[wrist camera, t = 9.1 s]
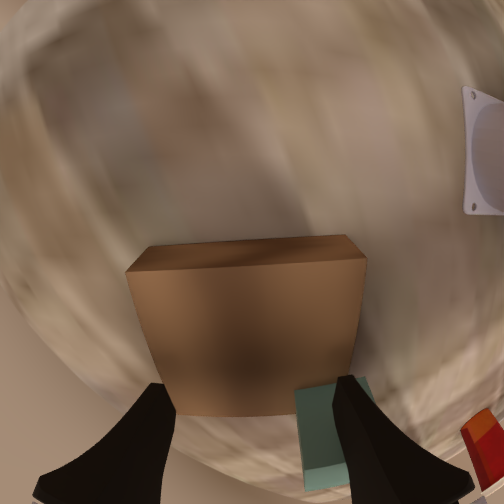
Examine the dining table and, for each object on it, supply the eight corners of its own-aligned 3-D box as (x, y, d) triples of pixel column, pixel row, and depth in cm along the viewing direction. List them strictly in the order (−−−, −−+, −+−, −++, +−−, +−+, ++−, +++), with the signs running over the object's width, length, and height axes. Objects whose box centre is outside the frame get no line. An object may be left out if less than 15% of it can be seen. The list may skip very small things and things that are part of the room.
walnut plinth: (345, 234, 13) (367, 258, 10) (329, 374, 17) (338, 408, 14) (148, 246, 13) (125, 272, 11) (185, 381, 17) (177, 414, 14)
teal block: (364, 376, 13) (392, 449, 8) (357, 413, 14) (375, 475, 10) (294, 390, 13) (304, 470, 9) (297, 425, 15) (305, 491, 10)
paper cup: (471, 430, 25) (498, 487, 12) (445, 439, 24) (472, 506, 11) (500, 399, 22) (534, 457, 9) (478, 407, 22) (514, 477, 9)
